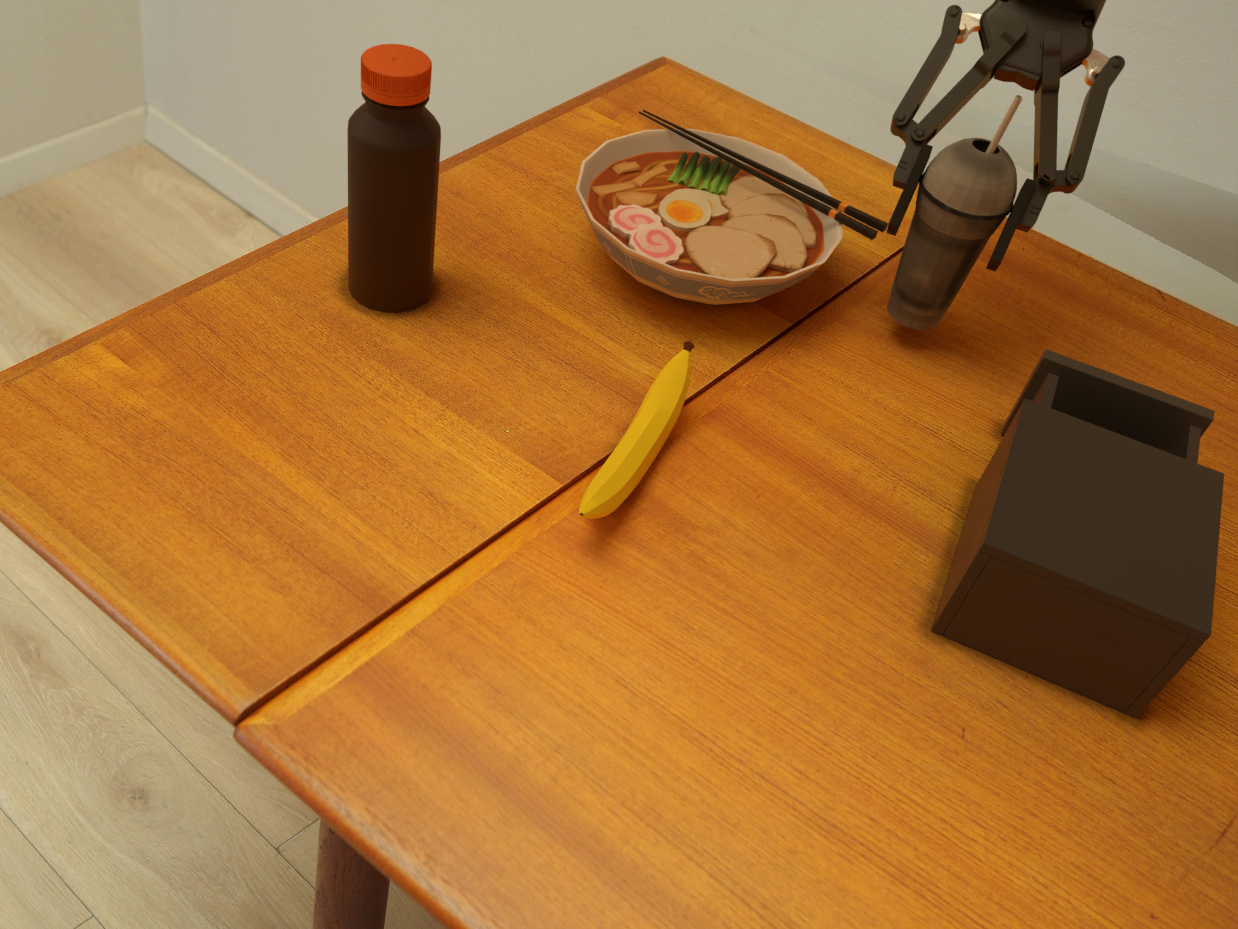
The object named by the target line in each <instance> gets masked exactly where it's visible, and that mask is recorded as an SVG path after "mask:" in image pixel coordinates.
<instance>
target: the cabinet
mask: <svg viewBox="0 0 1238 929" xmlns="http://www.w3.org/2000/svg"><path fill="white" fill-rule="evenodd" d="M1224 478H1225V473H1223V472H1222V471H1218V470H1215V469H1213V468H1210V467H1208V466H1205V465H1202V464H1200V463H1195V462H1192V461H1189V460H1187V459H1184V458H1181V457H1179V456H1176V455H1173V454H1171V453H1168V452H1165V451H1163V450H1160V449H1157V448H1155V447H1152V446H1150V445H1147V444H1144V443H1142V442H1139V441H1136V440H1134V439H1131V438H1128V437H1126V436H1123V435H1120V434H1118V433H1115V432H1112V431H1110V430H1107V429H1104V428H1102V427H1099V426H1096V425H1094V424H1091V423H1088V422H1086V421H1083V420H1081V419H1078V418H1075V417H1073V416H1070V415H1067V414H1065V413H1062V412H1059V411H1057V410H1054V409H1051V408H1049V407H1046V406H1043V405H1041V404H1038V403H1035V402H1033V401H1030V400H1027V399H1024V401H1023V403H1022V405H1021V406H1020V408H1019V410H1018V412H1017V414H1016V415H1015V417H1014V419H1013V421H1012V422H1011V424H1010V426H1009V428H1008V430H1007V431H1006V433H1005V435H1004V434H1003V436H1002V439H1001V440H1000V442H999V444H998V446H997V448H996V449H995V451H994V453H993V455H992V456H991V458H990V459H989V462H988V464H987V466H986V467H985V468H984V471H983V473H982V474H981V476H980V478H979V479H978V482H977V483H976V485H975V486H974V489H973V493H972V496H971V500H970V502H969V505H968V509H967V512H966V514H965V519H964V521H963V522H964V523H963V525H962V528H961V531H960V535H959V538H958V541H957V544H956V547H955V551H954V554H953V557H952V560H951V563H950V567H949V570H948V572H947V577H946V580H945V582H944V587H943V589H942V592H941V596H940V599H939V602H938V606H937V609H936V612H935V616H934V618H933V622H932V625H931V628H930V632H931V633H933V634H936V635H938V636H941V637H943V638H945V639H948V640H950V641H952V642H955V643H957V644H960V645H961V646H964V647H966V648H969V649H970V650H973V651H976V652H978V653H980V654H983V655H985V656H988V657H989V658H992V659H994V660H997V661H999V662H1001V663H1004V664H1006V665H1008V666H1010V667H1013V668H1015V669H1018V670H1020V671H1022V672H1024V673H1028V674H1030V675H1031V676H1034V677H1036V678H1039V679H1041V680H1043V681H1046V682H1048V683H1051V684H1053V685H1056V686H1058V687H1060V688H1062V689H1064V690H1067V691H1069V692H1071V693H1074V694H1077V695H1079V696H1081V697H1083V698H1085V699H1088V700H1091V701H1092V702H1095V703H1097V704H1100V705H1102V706H1105V707H1107V708H1109V709H1112V710H1114V711H1116V712H1119V713H1121V714H1123V715H1125V716H1128V717H1130V718H1133V719H1135V720H1137V719H1138V718H1139V717H1140V716H1141V715H1142V714H1143V712H1144V711H1145V710H1146V709H1147V708H1148V707H1149V706H1150V704H1151V703H1152V702H1153V701H1154V700H1155V699H1156V698H1157V696H1158V695H1159V694H1160V693H1161V692H1162V691H1163V690H1164V689H1165V688H1166V686H1168V684H1169V683H1170V682H1171V681H1172V680H1173V679H1174V678H1175V676H1176V675H1177V674H1178V673H1179V672H1180V670H1182V669H1183V667H1184V666H1185V665H1186V664H1187V663H1188V662H1189V660H1191V659H1192V657H1193V656H1194V655H1195V654H1196V653H1197V652H1198V650H1199V649H1201V647H1202V646H1203V645H1204V644H1205V642H1207V640H1208V639H1209V638H1210V637H1211V636H1212V628H1213V615H1214V603H1215V591H1216V590H1215V589H1216V579H1217V566H1218V555H1219V543H1220V529H1221V516H1222V505H1223V495H1224V494H1223V493H1224V481H1225V479H1224Z"/></svg>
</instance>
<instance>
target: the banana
mask: <svg viewBox="0 0 1238 929" xmlns="http://www.w3.org/2000/svg"><path fill="white" fill-rule="evenodd" d="M694 348H695V344H694V342H692V341H690V340H685V341H684V342H683V348H682V350H680V351H679V352H678V353H677V354H676V355H674V356H673V357H671V359H670V360H669V361H668V362H667V364H665V366H664V367H663V368H662V369H661V371H660V372H659V374H658V375H657V377H656V378H655V379H654V381H653V383H652V384H651V386H650V388H649V390H648V391H647V393H646V395H645V397H644V399H643V401H642V403H641V404H640V407H639V409H638V410H637V412H636V414H635V416H634V417H633V420H632V421H631V422H630V425H629V426H628V427H627V429H626V431H625V433H624V434H623V435H622V437H621V439H620V440H619V442H618V443H617V445H616V446H615V448H614V449H613V450H612V452H611V453H610V454H609V456H608V457H607V459H606V460H605V462H604V463H603V465H602V466H601V467H600V468H599V470H598V471H597V473H596V474H595V476H594V477H593V478H592V480H591V482H590V483H589V484H588V485H587V488H586V489H585V491H584V493H583V495H582V498H581V501H580V505H579V509H578V515H579V516H580V517H582V518H583V519H588V520H595V519H597V520H598V519H601V518H605V517H607V516H609V515H610V514H612V513H613V512H615V511H616V510H617V509H618V508H619V507H620V506H621V505H622V504H623V502H625V500H627V498H628V497H629V496H630V495H631V494H632V492H633V491H634V490H635V488H636V487H637V486H638V485H639V483H640V482H641V481H642V479H643V477H644V476H645V475H646V473H647V472H648V470H649V468H650V467H651V465H652V464H653V463H654V461H655V459H656V457H657V456H658V455H659V453H660V451H661V449H662V448H663V446H664V444H665V443H666V441H667V440H668V437H669V436H670V434H671V432H672V430H673V429H674V426H675V425H676V422H677V421H678V418H679V416H680V415H681V413H682V410H683V407H684V404H685V401H686V399H687V395H688V391H689V386H690V382H691V375H692V374H691V372H692V363H691V351H692V350H693V349H694Z"/></svg>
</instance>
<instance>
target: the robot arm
mask: <svg viewBox="0 0 1238 929" xmlns="http://www.w3.org/2000/svg"><path fill="white" fill-rule="evenodd" d="M1106 2H1107V0H994V1H993V2H992V3H991V4H990V6H988V7H987V8H986V9H985V10H984V11H983V12H982V13H978V12H968V11H967V12H966V11H963V9H962V7H961V6H960V5H957V4H952V5H950V6H948V7H947V9H945V12H944V17H943V21H942V25H941V30H940V35H939V36H938V38H937V41H936V42H935V43H934V45H933V47H932V49H931V50H930V51H929V54H928V55H927V57H926V59H925V60H924V62H923V64H922V65H921V67H920V69H919V71H917V74H916V76H915V77H914V79H913V81H912V82H911V83H910V86H909V88H908V89H907V91H906V92H905V94H904V95H903V97H902V99H901V100H900V102H899V104H898V106H897V107H896V109H895V111H894V112H893V114H892V118H891V123H890V127H889V128H890V133H891V135H893V136H895V137H899V138H900V139H901V141H903V143H904V144H905V147H904V149H903V151H902V154H901V157H900V159H899V161H898V163H897V166H896V168H895V170H894V173H893V177H892V187H895V188H897V189H900V190H902V192H901V194H900V196H899V198H898V201H897V203H896V206H895V207H894V210H893V212H892V214H891V216H890V219H889V221H888V226H887V228H886V231H885V232H886V234H888V235H891V236H893V237H896V236H897V234H898V232H899V229H900V227H901V224H902V222H903V220H904V218H905V215H906V214H907V211H908V208H909V206H910V204H911V201H912V199H913V197H914V194H915V192H916V190H917V189H918V188H917V187H918V186H919V179H920V177H921V176H922V174H923V173H924V172H925V170H926V168H927V166H928V165H927V164H928V163H929V160H930V157H931V154H932V151H933V148H934V146H933V145H930V144H929V143H930V142H931V141H932V140H933V139H934V138H935V137H936V136H937V134H938V133H940V132H941V131H942V130H943V128H945V127H946V125H948V124H949V122H951V120H952V119H953V118H954V117H955V116H956V115H957V114H958V113H959V112H960V111H961V110H962V109H963V108H965V106H966V105H967V104H968V103H969V102H970V101H971V100H972V99H973V98H974V97H975V96H976V95H977V94H978V93H979V92H980V91H981V89H984V88H985V87H986V86H987V85H989V83H990V82H991V81H992V80H997V81H1000V82H1004V83H1014V84H1016V85H1017V86H1019V87H1020V88H1022V89H1024V90H1028V91H1031V92H1033V106H1034V124H1033V125H1034V126H1033V127H1034V128H1033V134H1034V135H1033V166H1032V167H1033V168H1032V179H1031V178H1028V177H1027V178H1026V179H1025V181H1024V182H1023V184H1022V186H1021V188H1020V189H1019V192H1018V194H1017V195H1016V197H1015V200H1014V202H1013V209H1012V210H1011V212H1010V213H1009V215H1008V216H1007V219H1006V221H1005V223H1004V226H1003V228H1002V230H1001V233H1000V235H999V237H998V240H997V241H996V243H995V246H994V248H993V250H992V253H991V255H990V258H989V260H988V262H987V265H986V267H985V269H987V270H988V271H992V272H997V270H998V269H999V268H1000V266H1001V264H1002V262H1003V260H1004V258H1005V255H1006V253H1007V251H1008V248H1009V246H1010V244H1011V242H1012V239H1013V237H1014V235H1015V232H1016V231H1017V230H1019V231H1020V232H1024V233H1029V232H1030V231H1031V229H1033V227H1035V225H1036V223H1037V221H1038V219H1039V216H1040V214H1041V212H1042V210H1043V208H1044V206H1045V204H1046V201H1047V199H1048V196H1049V195H1050V194H1053V193H1064V194H1066V195H1070V194H1073V193H1074V192H1075V191H1076V190H1077V188H1078V187H1079V185H1080V184H1081V183H1082V182H1083V180H1084V178H1085V175H1086V171H1087V167H1088V164H1089V161H1090V158H1091V154H1092V150H1093V146H1094V143H1095V139H1096V136H1097V133H1098V129H1099V125H1100V121H1101V119H1102V114H1103V111H1104V109H1105V104H1106V101H1107V97H1108V94H1109V91H1110V88H1111V87H1112V85H1113V84H1114V83H1115V82H1116V81H1117V79H1118V77H1119V75H1120V74H1121V72H1122V71H1123V70H1124V69H1125V68H1124V67H1125V66H1126V60H1125V58H1124V57H1123V56H1121V55H1113V56H1110V57H1109V56H1107V55H1105V54H1104V53H1102V52H1100V51H1099V50H1097V49H1095V48H1094V38H1093V36H1094V29H1095V27H1096V25H1097V23H1098V20H1099V19H1100V15H1101V13H1102V12H1103V9H1104V7H1105V5H1106ZM975 32H977V35H978V38H979V42H980V45H981V49H982V55H981V56H980V57H979V58H978V59H977V61H976V62H975V63H974V65H973V66H972V67H971V68H970V69H969V70H968V71H967V72H966V74H964V75H963V76H962V78H961V79H960V80H958V81H957V83H955V85H954V86H953V87H952V88H951V89H950V90H948V92H947V93H946V94H945V95H944V96H943V97H942V98H941V99H940V101H938V102H937V104H935V105H934V106H933V108H931V110H929V112H928V113H927V114H926V115H924V116H923V118H921V120H920V121H919V122H916V121H915V120H914V118H915V116H917V115H916V114H917V113H918V111H919V110H920V108H921V106H922V105H923V103H924V101H925V100H926V98H927V97H928V95H929V93H930V92H931V90H932V88H933V86H934V84H935V83H936V81H937V80H938V78H939V77H940V75H941V73H942V72H943V70H944V68H945V66H946V65H947V63H948V61H949V59H950V58H951V56H952V54H953V51H954V48H955V45H956V44H957V45H961V44H964V43H965V42H967V40H968V38H969V36H970V35H972V34H973V33H975ZM1080 66H1083V67H1084V68H1085V76H1084V83H1085V85H1087V86H1088V87H1089V88H1088V91H1087V92H1086V95H1085V96H1084V99H1083V102H1082V106H1081V109H1080V112H1079V115H1078V116H1079V117H1078V118H1077V123H1076V127H1075V130H1074V133H1073V137H1072V140H1071V145H1070V148H1069V151H1068V154H1067V158H1066V161H1065V164H1064V168H1063V169H1057V165H1058V164H1057V162H1058V122H1059V92H1060V88H1061V78H1063V77H1064V76H1066V75H1068V74H1069V73H1071V72H1072V71H1074V70H1075V69H1077V68H1078V67H1080Z"/></svg>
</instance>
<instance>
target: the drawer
mask: <svg viewBox="0 0 1238 929" xmlns="http://www.w3.org/2000/svg"><path fill="white" fill-rule="evenodd" d="M1024 399H1027V400H1030V401H1033V402H1035V403H1038V404H1041V405H1043V406H1046V407H1049V408H1051V409H1054V410H1057V411H1059V412H1062V413H1065V414H1067V415H1070V416H1073V417H1075V418H1078V419H1081V420H1083V421H1086V422H1088V423H1091V424H1094V425H1096V426H1099V427H1102V428H1104V429H1107V430H1110V431H1112V432H1115V433H1118V434H1120V435H1123V436H1126V437H1128V438H1131V439H1134V440H1136V441H1139V442H1142V443H1144V444H1147V445H1150V446H1152V447H1155V448H1157V449H1160V450H1163V451H1165V452H1168V453H1171V454H1173V455H1176V456H1179V457H1181V458H1184V459H1187V460H1189V461H1192V462H1195V463H1197V464H1199V463H1198V462H1199V454H1200V453H1199V452H1200V444H1201V438H1202V436H1203V435H1205V433H1206V431H1207V430H1208V429H1209V428H1210V426H1211V424H1212V423H1213V422H1214V420H1215V410H1214V409H1211V408H1208V407H1206V406H1203V405H1200V404H1197V403H1195V402H1192V401H1189V400H1186V399H1184V398H1182V397H1179V396H1176V395H1173V394H1171V393H1169V392H1165V391H1162V390H1160V389H1156V388H1154V387H1152V386H1148V385H1146V384H1143V383H1141V382H1137V381H1135V380H1132V379H1129V378H1126V377H1124V376H1121V375H1119V374H1117V373H1112V372H1110V371H1107V370H1105V369H1102V368H1099V367H1097V366H1094V365H1091V364H1088V363H1086V362H1083V361H1080V360H1077V359H1075V358H1072V357H1070V356H1067V355H1064V354H1061V353H1058V352H1056V351H1052V350H1050V349H1048V348H1045V349H1044V350H1043V353H1042V354H1041V356H1040V358H1039V360H1038V361H1037V363H1036V365H1035V367H1034V368H1033V371H1032V372H1031V374H1030V376H1029V377H1028V379H1027V382H1026V383H1025V385H1024V387H1023V388H1022V390H1021V392H1020V394H1019V396H1018V398H1017V399H1016V401H1015V403H1014V405H1013V406H1012V409H1011V411H1010V412H1009V413H1008V416H1007V417H1006V419H1005V422H1004V423H1003V425H1002V428H1001V432H1000V434H1001V435H1003V436H1004V435H1005V433H1006V431H1007V430H1008V428H1009V426H1010V424H1011V422H1012V421H1013V419H1014V417H1015V415H1016V414H1017V412H1018V410H1019V408H1020V406H1021V405H1022V403H1023V401H1024Z"/></svg>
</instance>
